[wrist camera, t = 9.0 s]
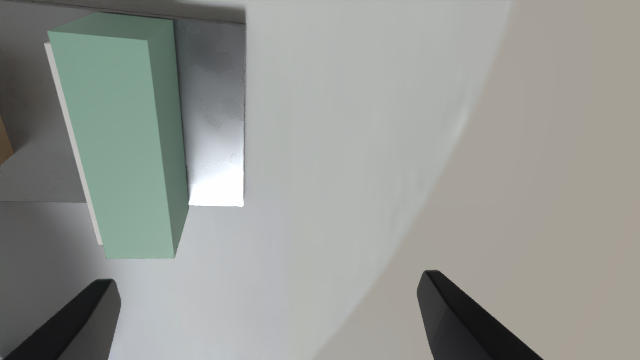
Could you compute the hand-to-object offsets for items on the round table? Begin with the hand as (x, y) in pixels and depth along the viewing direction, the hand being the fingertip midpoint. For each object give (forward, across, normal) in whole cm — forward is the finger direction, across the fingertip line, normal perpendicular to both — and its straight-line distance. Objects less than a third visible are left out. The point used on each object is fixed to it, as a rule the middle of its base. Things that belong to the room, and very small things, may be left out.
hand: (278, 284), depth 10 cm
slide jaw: (+10, +6, 0) cm, 12 cm away
